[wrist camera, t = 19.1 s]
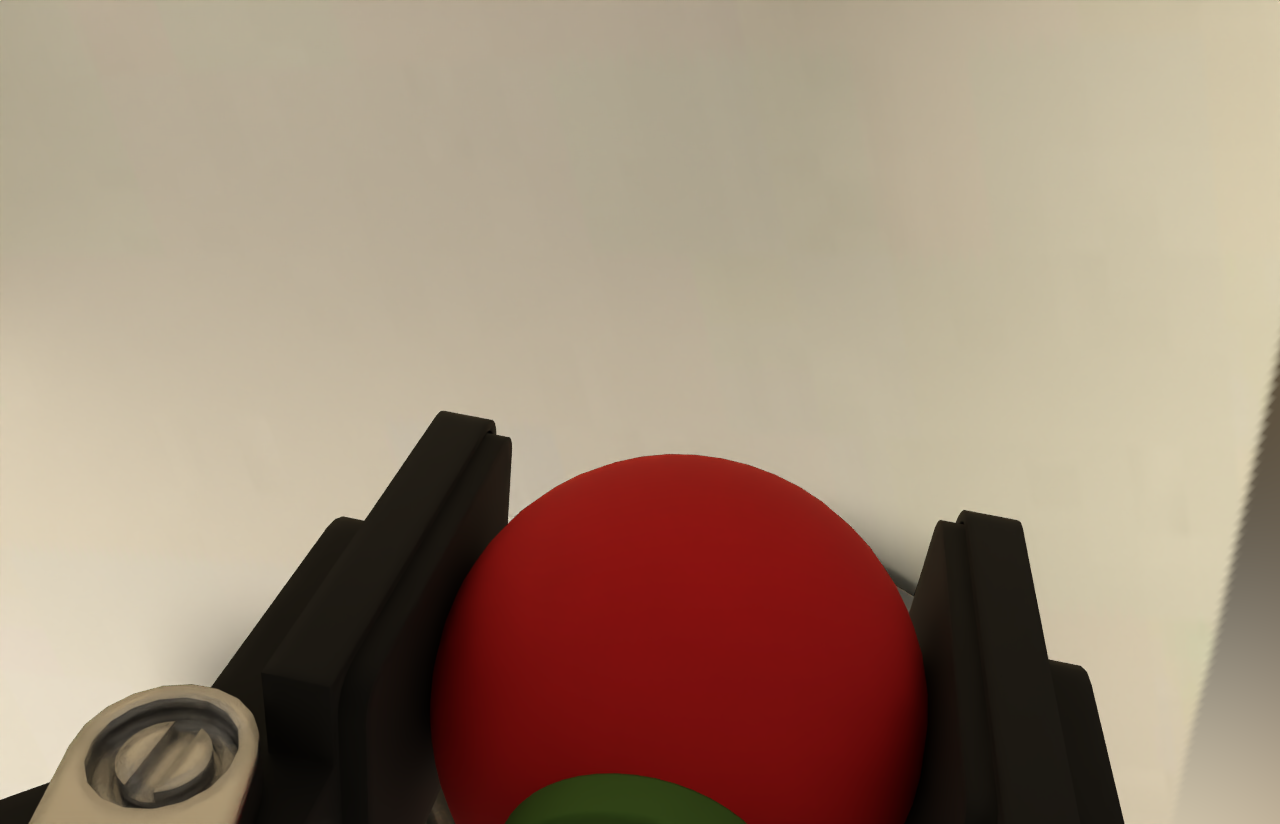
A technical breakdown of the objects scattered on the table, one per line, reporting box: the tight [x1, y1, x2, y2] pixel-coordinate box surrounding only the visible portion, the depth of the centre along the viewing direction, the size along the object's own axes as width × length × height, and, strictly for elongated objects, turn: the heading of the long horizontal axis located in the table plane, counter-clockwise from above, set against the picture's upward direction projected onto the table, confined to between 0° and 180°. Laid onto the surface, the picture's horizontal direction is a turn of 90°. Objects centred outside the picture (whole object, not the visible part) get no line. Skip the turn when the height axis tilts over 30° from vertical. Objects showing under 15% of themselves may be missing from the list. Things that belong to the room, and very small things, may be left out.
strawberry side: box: [430, 454, 928, 824], centre depth 10 cm, size 4×4×4 cm
